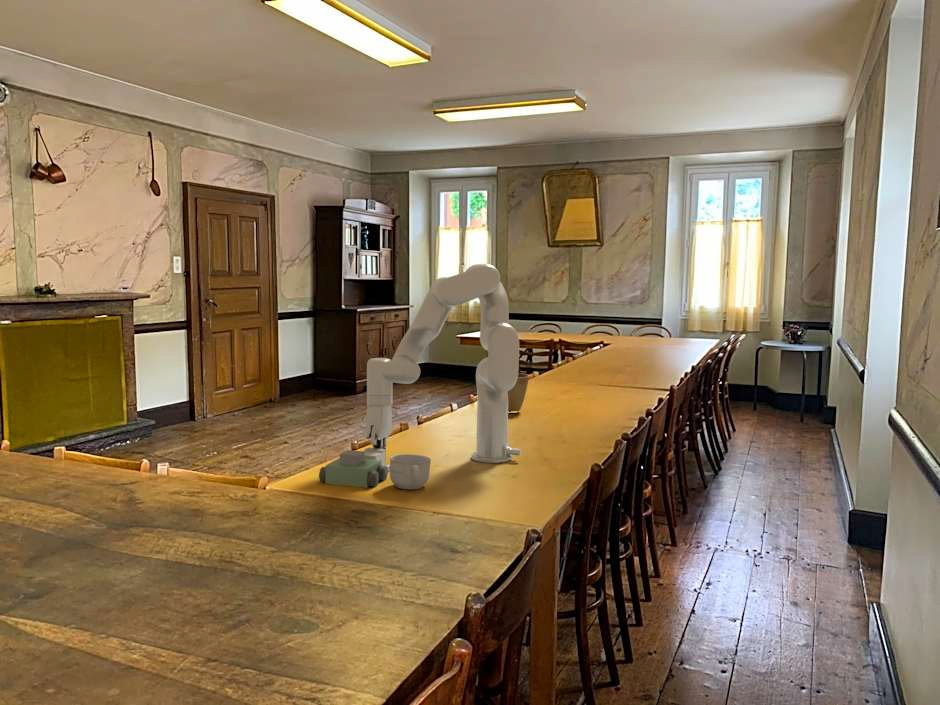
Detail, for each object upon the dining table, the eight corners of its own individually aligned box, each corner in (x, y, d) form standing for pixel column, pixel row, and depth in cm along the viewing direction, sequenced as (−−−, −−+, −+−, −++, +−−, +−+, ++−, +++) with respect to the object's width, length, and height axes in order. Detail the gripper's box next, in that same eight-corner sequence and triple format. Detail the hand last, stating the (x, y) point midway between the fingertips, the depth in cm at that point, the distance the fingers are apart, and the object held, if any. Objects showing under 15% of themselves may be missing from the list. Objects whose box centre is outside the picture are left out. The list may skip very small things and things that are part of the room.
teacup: (390, 481, 196) (390, 452, 196) (430, 481, 197) (430, 452, 196) (388, 496, 183) (388, 465, 182) (431, 496, 183) (431, 465, 183)
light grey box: (385, 467, 211) (385, 449, 210) (375, 473, 204) (375, 454, 203) (367, 466, 212) (367, 447, 212) (357, 471, 205) (357, 453, 205)
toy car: (398, 470, 207) (398, 443, 207) (373, 488, 189) (373, 458, 188) (348, 466, 211) (348, 439, 211) (319, 483, 193) (318, 454, 192)
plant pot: (486, 410, 306) (487, 373, 305) (517, 408, 313) (518, 371, 311) (502, 416, 293) (503, 377, 291) (534, 414, 299) (535, 376, 298)
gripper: (377, 395, 220) (377, 454, 222) (357, 403, 206) (357, 466, 208) (400, 397, 218) (400, 456, 220) (381, 404, 204) (381, 468, 206)
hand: (379, 460), depth 214 cm, fingers closed
